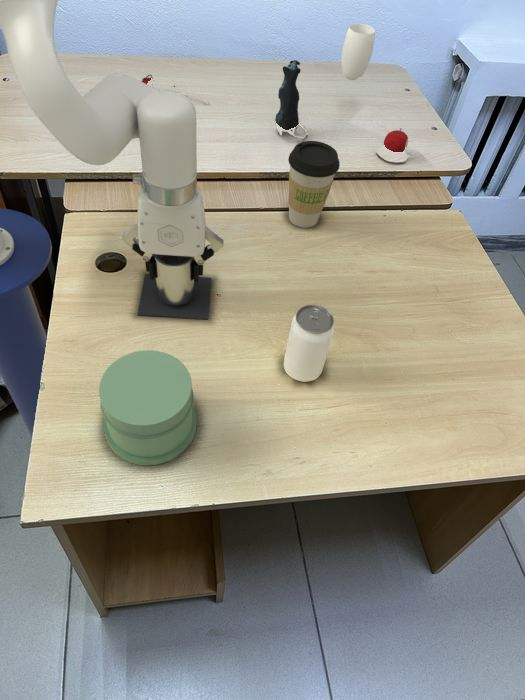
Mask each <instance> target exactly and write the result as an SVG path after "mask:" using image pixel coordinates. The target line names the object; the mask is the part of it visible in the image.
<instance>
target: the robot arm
mask: <svg viewBox="0 0 525 700" xmlns="http://www.w3.org/2000/svg"><path fill="white" fill-rule="evenodd" d="M58 1H59V0H0V30H1V32H2V34H3V36H4V39H5V44H6V50H7V53H8V59H9V62H10V65H11V69H12V71H13V74H14V76H15V79H16V82H17V84H18V86H19V89H20V91H21V94H22V96H23V98H24V100H25V101H26V104H27V105H28V107H29V108H30V110H31V111H32V112H33V114H34V115H35V116H36V118H37V119H38V120H39V121H40V122H41V124H42V125H43V126H44V127H45V128H46V129H47V130H48V132H49V133H50V134H51V135H52V136H53V138H54V139H55V140H57V141H58V143H59V144H61V146H62V147H63V148H64V149H65V150H66V151H68V152H69V153H70V154H71V155H72V156H74V157H75V158H76V159H78V160H79V161H81V162H83V163H85V164H88V165H92V166H105V165H107V164H109V163H111V162H112V161H114V160H116V158H117V157H118V156H119V155H120V154H121V153H122V152H123V150H124V149H125V148H126V147H127V146H128V145H129V143H131V141H132V140H134V139H139V150H140V160H141V161H140V162H141V173H138V174H137V173H133V174H132V184H134V185H138V186H141V188H140V190H139V193H138V198H137V199H138V200H137V222H136V223H135V224H134V225H132V226H131V227H130V228H128V229H127V230H125V231H124V232H123V234H122V237H121V240H122V241H123V242H124V243H125V244H126V245H127V246H129V247H130V248H131V249H132V250H133V251H134V252H135V253H136V254H138V255H139V256H140V257H141V260H142V261H143V262H144V263H145V264H144V265H145V266H144V267H145V272H146V273H148V274H150V280H153V279H155V266H154V255H153V254H160V255H174V256H190V257H194V259H195V260H194V282H196V283H198V279H199V277H204V264H205V262H206V261H207V260H209V259H210V258H212V257H213V256H214V255H215V253H217V252H219V251H220V250H222V249H223V248H224V242H225V241H224V239H223V238H222V237H221V236H220V235H218V234H216V233H215V232H214V231H213V230H212V229H211V228H209V227H208V226H207V224H206V212H205V204H204V199H203V198H204V197H203V195H202V192H201V189H200V187H198V164H197V163H198V162H197V161H198V160H197V159H198V158H197V156H198V153H197V152H198V151H197V149H198V147H197V142H198V141H197V111H196V107H195V104H194V103H193V101H192V100H191V99H190V98H189V97H187V96H186V95H184V94H183V93H181V92H177V91H173V90H160V89H158V88H155V87H153V86H152V87H151V86H149V85H147V84H145V83H143V82H141V81H142V80H139V79H137V78H135V77H133V76H130V75H128V74H124V73H112V74H108V75H106V76H105V77H103V78H102V79H101V80H100V81H99V82H98V83H96V84H95V85H94V86H93V87H92V88H91V89H89V90H88V91H87V92H86V93H85V94H84V95H83V96H82V94H80V92H79V91H78V89H77V88H76V87H75V86H74V85H73V83H72V81H71V80H70V78H69V77H68V75H67V74H66V72H65V70H64V67H63V66H62V64H61V62H60V58H59V56H58V53H57V48H56V44H55V43H56V42H55V36H54V34H55V33H54V30H55V18H56V12H57V11H56V10H57V6H58ZM206 241H207V242H208V243H209V244H207V245H206ZM14 247H15V246H14V241H13V238H12V236H11V235H10V234H9V233H8V232H7V231H6V230H4V229H2V228H0V265H2V264H4V263H5V262H6V261H7V260H8V259H9V258H10V257H11V256H12V254H13V252H14Z"/></svg>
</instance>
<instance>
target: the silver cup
mask: <svg viewBox="0 0 525 700" xmlns="http://www.w3.org/2000/svg"><path fill="white" fill-rule="evenodd" d="M153 255H154V266H155V277H156V288H157V295H158V297H159V299H160V300H161V301H162V302H164V303H166V304H169V305H183V304H185V303H188V302H189V301H190V300H192V298H193V297H194V295H195V282H194V260H195V259H194V257H190V256H174V255H160V254H153Z"/></svg>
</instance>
